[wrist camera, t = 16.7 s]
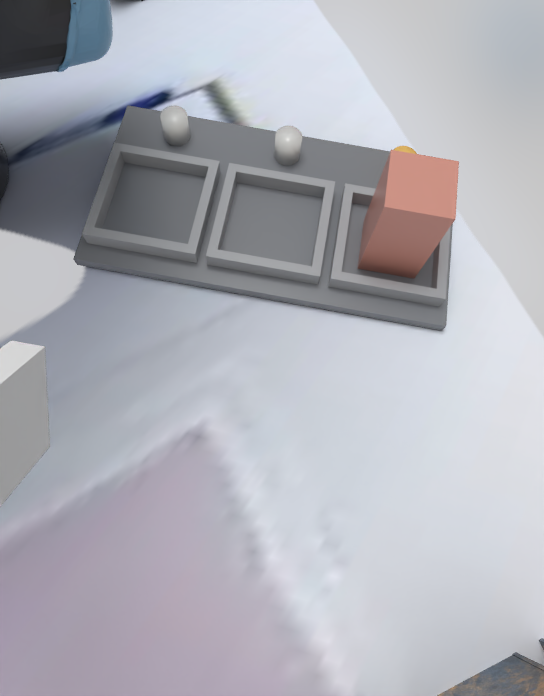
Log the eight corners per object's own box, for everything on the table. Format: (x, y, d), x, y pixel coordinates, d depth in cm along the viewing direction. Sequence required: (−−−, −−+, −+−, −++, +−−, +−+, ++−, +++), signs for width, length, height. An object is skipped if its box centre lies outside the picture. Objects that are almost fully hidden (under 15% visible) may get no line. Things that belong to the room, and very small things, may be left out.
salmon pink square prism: (357, 268, 43) (384, 206, 34) (363, 220, 45) (391, 149, 36) (414, 278, 43) (455, 219, 34) (418, 229, 45) (458, 161, 36)
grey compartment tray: (77, 264, 43) (63, 244, 40) (129, 113, 49) (121, 84, 45) (441, 330, 43) (457, 315, 39) (452, 170, 48) (467, 145, 45)
